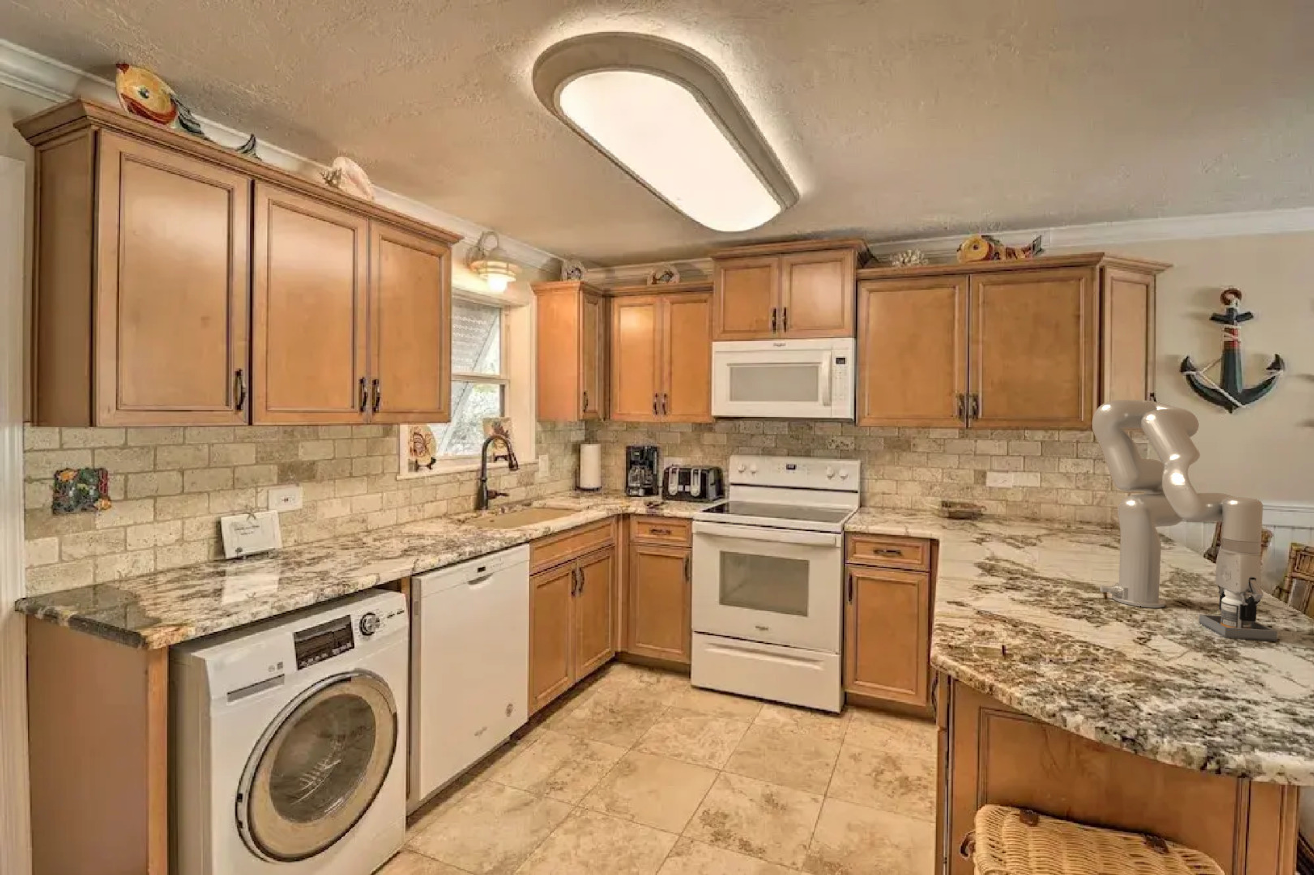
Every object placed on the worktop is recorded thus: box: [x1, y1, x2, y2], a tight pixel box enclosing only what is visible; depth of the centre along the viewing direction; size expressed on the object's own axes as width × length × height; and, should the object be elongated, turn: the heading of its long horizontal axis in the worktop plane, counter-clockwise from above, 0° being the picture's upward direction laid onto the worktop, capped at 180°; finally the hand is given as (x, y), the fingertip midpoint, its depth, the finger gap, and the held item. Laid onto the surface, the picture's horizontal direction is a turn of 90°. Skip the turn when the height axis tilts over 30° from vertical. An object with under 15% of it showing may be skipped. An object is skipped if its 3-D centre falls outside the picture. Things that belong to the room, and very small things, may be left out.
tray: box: [1198, 613, 1278, 642], centre depth 163 cm, size 11×11×2 cm
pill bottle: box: [1220, 589, 1251, 629], centre depth 163 cm, size 6×6×10 cm
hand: (1237, 615), depth 163 cm, fingers open, 7 cm apart
